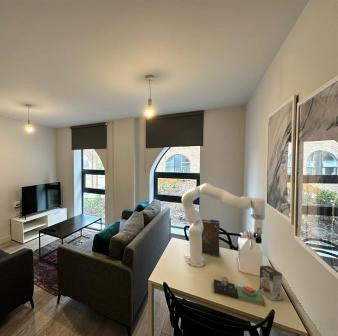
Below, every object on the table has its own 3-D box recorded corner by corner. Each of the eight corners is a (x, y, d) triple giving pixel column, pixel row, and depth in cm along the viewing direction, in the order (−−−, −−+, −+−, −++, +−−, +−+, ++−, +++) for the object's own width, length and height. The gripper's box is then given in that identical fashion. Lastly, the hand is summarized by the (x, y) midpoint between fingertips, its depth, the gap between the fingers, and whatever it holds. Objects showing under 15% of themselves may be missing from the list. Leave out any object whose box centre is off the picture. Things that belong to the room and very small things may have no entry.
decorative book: (219, 253, 167) (219, 220, 165) (219, 257, 160) (219, 222, 159) (190, 248, 178) (190, 217, 176) (190, 251, 172) (190, 219, 170)
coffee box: (258, 290, 120) (259, 265, 119) (268, 289, 121) (268, 265, 120) (272, 300, 111) (272, 274, 110) (282, 299, 112) (282, 273, 111)
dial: (221, 287, 119) (221, 279, 119) (220, 283, 123) (220, 275, 123) (228, 288, 118) (228, 280, 117) (227, 285, 121) (227, 277, 121)
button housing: (238, 299, 113) (238, 292, 113) (236, 288, 122) (236, 282, 122) (263, 305, 108) (263, 298, 107) (258, 294, 117) (259, 287, 116)
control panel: (214, 293, 118) (214, 288, 118) (213, 283, 127) (213, 278, 127) (236, 298, 113) (236, 293, 113) (234, 288, 122) (234, 283, 122)
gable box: (238, 257, 159) (238, 225, 157) (257, 262, 152) (258, 228, 151) (239, 271, 140) (240, 235, 138) (262, 277, 133) (262, 238, 132)
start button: (245, 292, 114) (245, 289, 113) (244, 288, 117) (244, 285, 117) (253, 294, 112) (253, 291, 112) (252, 289, 115) (252, 287, 115)
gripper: (249, 212, 138) (249, 234, 139) (252, 219, 123) (252, 244, 124) (262, 213, 134) (261, 236, 135) (267, 220, 119) (266, 246, 120)
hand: (257, 240), depth 130 cm, fingers open, 9 cm apart
